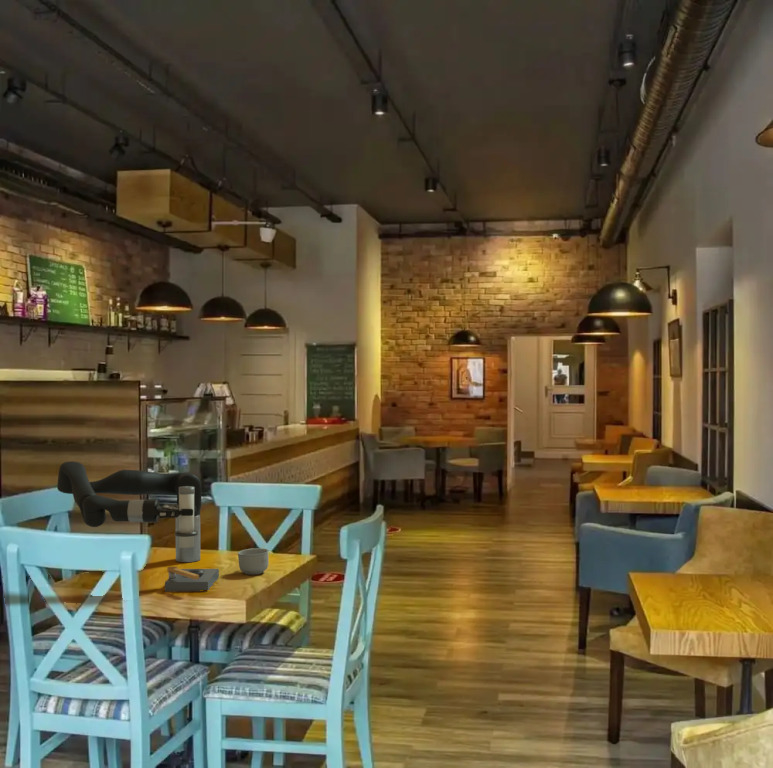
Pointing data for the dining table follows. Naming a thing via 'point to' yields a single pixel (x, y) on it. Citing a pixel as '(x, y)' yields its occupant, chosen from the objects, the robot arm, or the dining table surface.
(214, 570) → the grey flat block
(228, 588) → the dining table surface
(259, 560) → the teacup
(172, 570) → the clip
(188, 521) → the grey tall cylinder
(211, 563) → the dining table surface
